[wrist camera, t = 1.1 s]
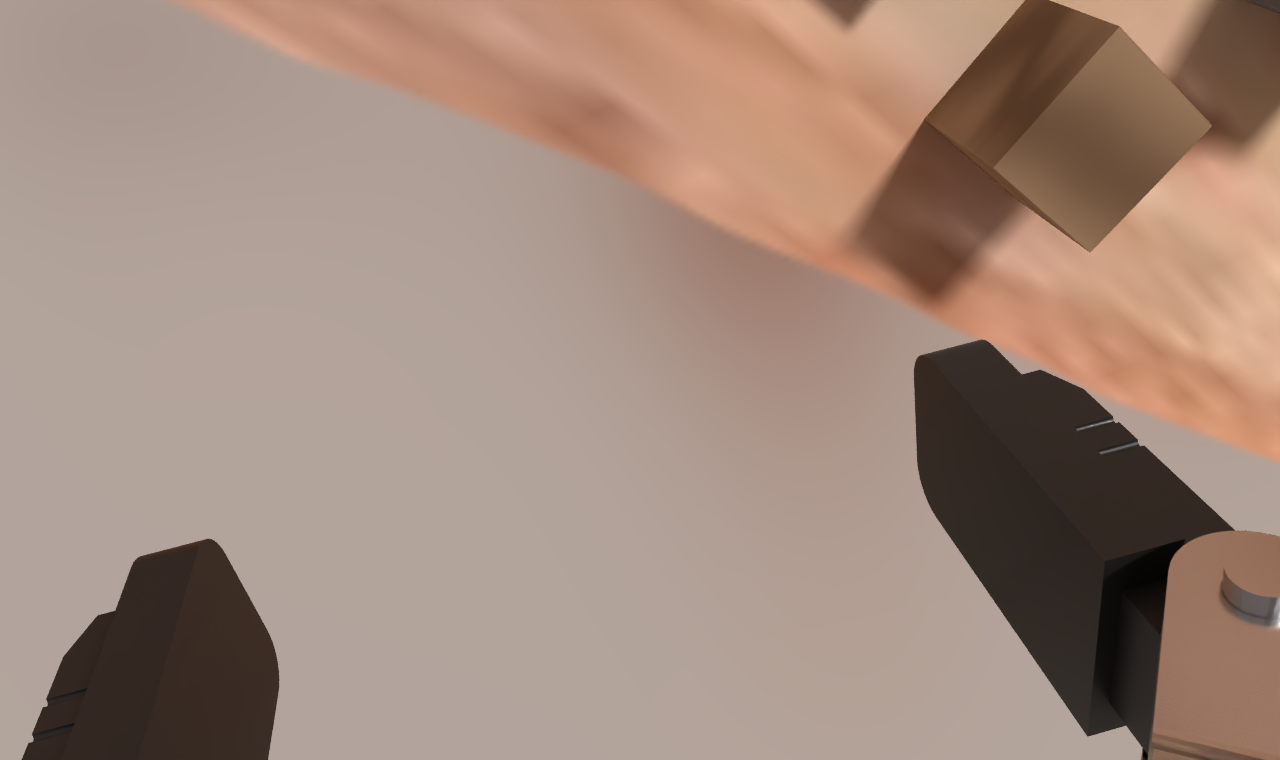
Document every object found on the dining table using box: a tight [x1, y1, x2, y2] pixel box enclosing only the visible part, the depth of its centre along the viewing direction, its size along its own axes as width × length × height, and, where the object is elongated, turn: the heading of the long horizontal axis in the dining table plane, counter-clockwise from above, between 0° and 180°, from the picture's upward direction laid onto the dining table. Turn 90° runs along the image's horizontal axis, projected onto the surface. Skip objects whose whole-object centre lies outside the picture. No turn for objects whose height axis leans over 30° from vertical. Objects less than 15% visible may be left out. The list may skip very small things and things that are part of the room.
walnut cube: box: [924, 0, 1212, 252], centre depth 32 cm, size 5×5×5 cm
